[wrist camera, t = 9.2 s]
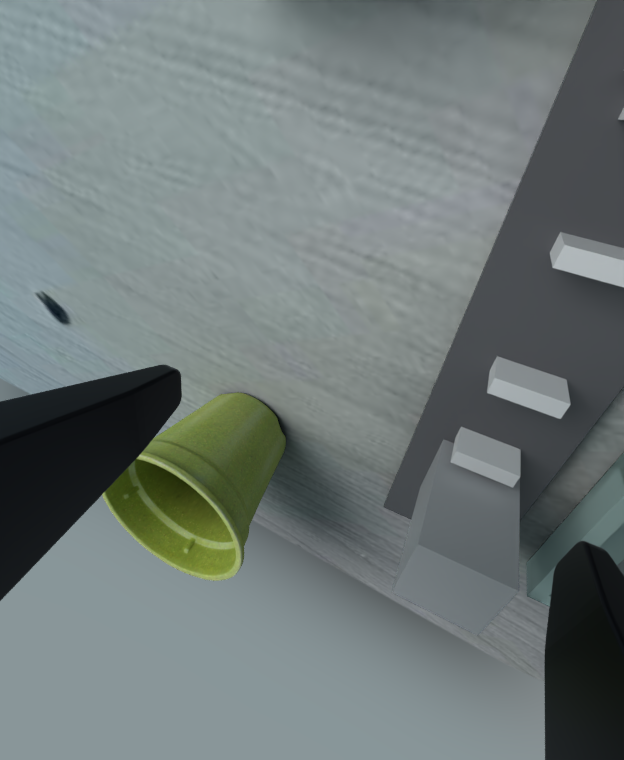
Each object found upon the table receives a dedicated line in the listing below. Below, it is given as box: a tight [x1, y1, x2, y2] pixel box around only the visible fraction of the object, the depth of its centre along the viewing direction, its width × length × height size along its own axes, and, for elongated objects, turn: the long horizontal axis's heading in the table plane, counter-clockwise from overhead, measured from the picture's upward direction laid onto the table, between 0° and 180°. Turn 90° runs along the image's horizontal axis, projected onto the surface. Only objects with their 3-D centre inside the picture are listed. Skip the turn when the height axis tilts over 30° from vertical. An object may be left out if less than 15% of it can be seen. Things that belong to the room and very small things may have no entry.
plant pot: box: [102, 393, 286, 581], centre depth 26 cm, size 9×9×9 cm
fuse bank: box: [384, 0, 624, 636], centre depth 14 cm, size 7×30×8 cm, turn 169°
